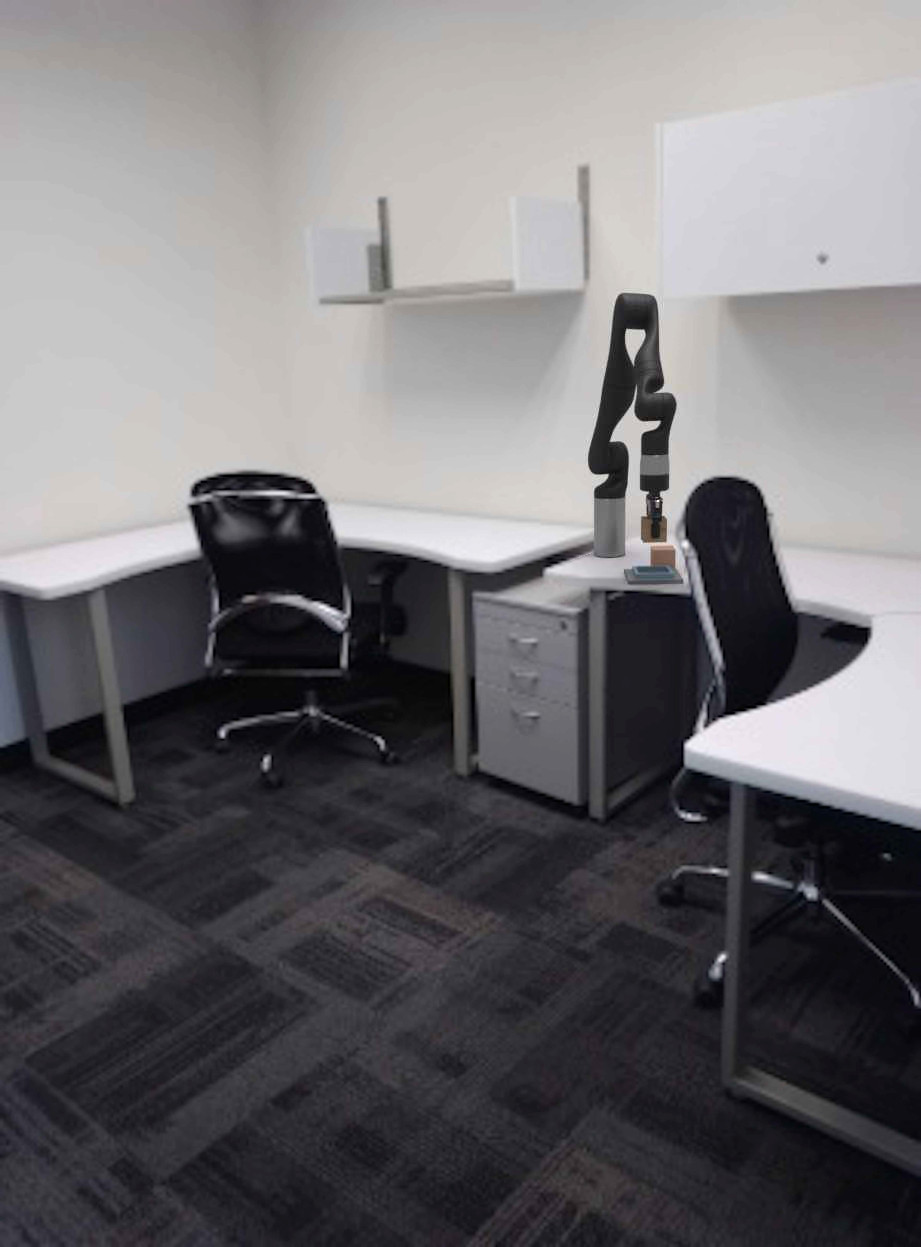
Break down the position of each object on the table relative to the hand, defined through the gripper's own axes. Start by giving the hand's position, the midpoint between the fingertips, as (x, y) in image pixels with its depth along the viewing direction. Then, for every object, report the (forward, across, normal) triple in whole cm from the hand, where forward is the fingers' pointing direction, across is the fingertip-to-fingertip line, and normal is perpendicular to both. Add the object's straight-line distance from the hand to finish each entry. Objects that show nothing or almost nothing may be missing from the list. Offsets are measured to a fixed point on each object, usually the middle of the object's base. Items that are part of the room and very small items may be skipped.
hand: (653, 535), depth 256 cm
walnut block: (+1, 0, 0) cm, 1 cm away
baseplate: (+11, 0, 0) cm, 11 cm away
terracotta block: (+11, +11, -4) cm, 16 cm away
